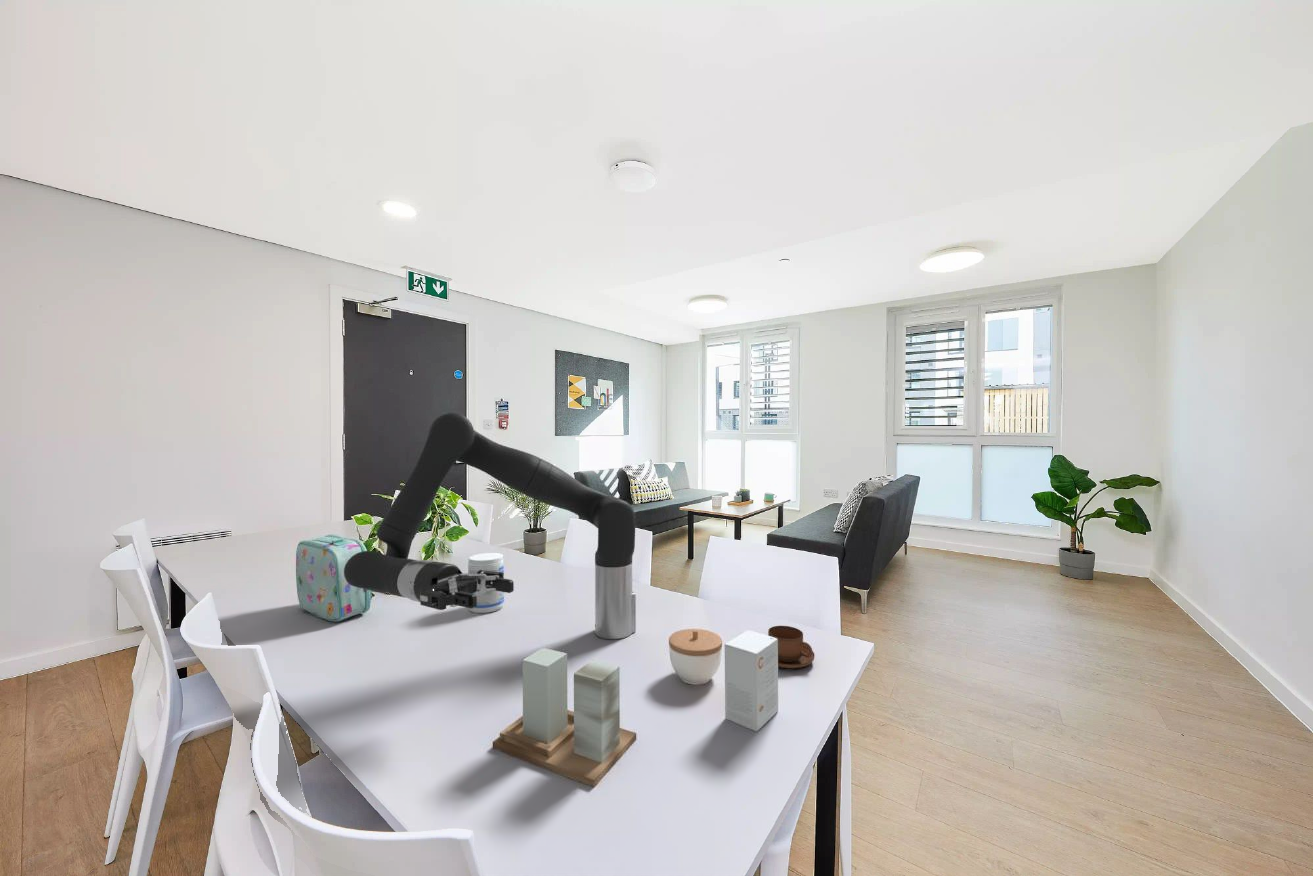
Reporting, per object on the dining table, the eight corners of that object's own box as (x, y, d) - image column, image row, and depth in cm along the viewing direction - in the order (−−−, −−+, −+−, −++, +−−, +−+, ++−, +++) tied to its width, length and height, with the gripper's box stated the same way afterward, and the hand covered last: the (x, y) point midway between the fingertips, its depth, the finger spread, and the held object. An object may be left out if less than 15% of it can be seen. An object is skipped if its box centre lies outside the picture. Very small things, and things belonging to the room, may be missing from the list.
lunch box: (379, 616, 133) (378, 537, 133) (338, 628, 124) (337, 544, 124) (331, 598, 147) (330, 527, 147) (291, 609, 138) (290, 533, 138)
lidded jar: (726, 669, 102) (726, 624, 102) (715, 695, 92) (715, 645, 92) (677, 661, 106) (677, 618, 105) (661, 685, 95) (661, 637, 95)
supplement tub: (508, 610, 137) (508, 557, 137) (473, 617, 132) (472, 562, 132) (498, 600, 145) (498, 550, 145) (464, 606, 140) (464, 555, 140)
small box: (747, 699, 90) (747, 628, 90) (779, 711, 86) (779, 638, 86) (723, 718, 84) (723, 643, 84) (756, 733, 80) (756, 653, 80)
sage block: (543, 718, 83) (543, 647, 83) (567, 726, 80) (567, 653, 80) (522, 734, 78) (522, 659, 78) (547, 743, 76) (547, 666, 76)
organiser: (543, 709, 87) (542, 636, 87) (636, 739, 79) (636, 658, 78) (492, 748, 76) (492, 665, 76) (594, 787, 68) (593, 693, 68)
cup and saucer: (817, 654, 109) (817, 626, 109) (810, 678, 98) (810, 648, 98) (764, 644, 114) (764, 618, 114) (751, 666, 103) (751, 637, 103)
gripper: (394, 571, 85) (460, 583, 78) (460, 553, 98) (523, 562, 91) (395, 614, 85) (461, 630, 78) (461, 590, 98) (523, 602, 91)
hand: (494, 593), depth 84 cm, fingers open, 8 cm apart
